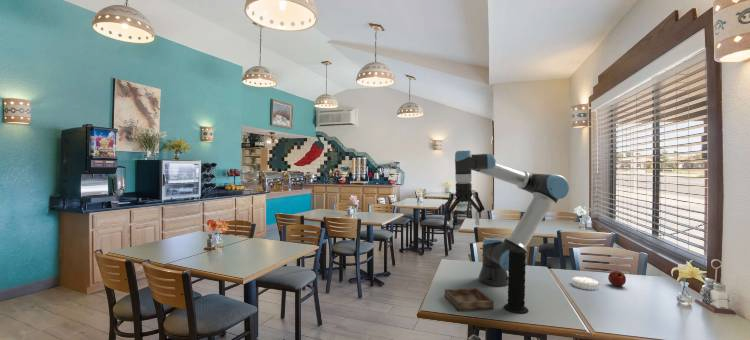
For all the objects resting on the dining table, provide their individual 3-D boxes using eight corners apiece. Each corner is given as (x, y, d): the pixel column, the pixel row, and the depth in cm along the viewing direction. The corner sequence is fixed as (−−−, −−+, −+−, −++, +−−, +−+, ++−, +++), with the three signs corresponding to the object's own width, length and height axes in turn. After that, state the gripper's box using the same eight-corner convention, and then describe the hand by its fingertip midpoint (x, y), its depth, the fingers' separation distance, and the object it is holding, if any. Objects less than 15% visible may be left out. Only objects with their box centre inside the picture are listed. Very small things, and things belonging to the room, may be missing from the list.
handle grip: (529, 315, 143) (527, 306, 152) (531, 252, 142) (528, 246, 152) (504, 311, 146) (503, 302, 155) (505, 249, 145) (504, 244, 155)
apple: (610, 287, 178) (610, 271, 178) (606, 282, 185) (606, 267, 185) (627, 289, 175) (627, 273, 175) (622, 284, 182) (623, 269, 182)
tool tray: (476, 295, 164) (476, 287, 164) (493, 309, 148) (493, 301, 148) (444, 296, 161) (444, 289, 161) (458, 311, 146) (458, 303, 146)
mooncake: (566, 283, 183) (566, 277, 182) (581, 281, 187) (582, 274, 187) (588, 291, 172) (588, 284, 171) (604, 288, 176) (604, 281, 176)
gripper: (484, 180, 172) (484, 222, 173) (436, 183, 168) (437, 226, 169) (491, 182, 164) (491, 225, 166) (441, 184, 160) (442, 229, 162)
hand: (464, 225), depth 167 cm, fingers open, 13 cm apart
